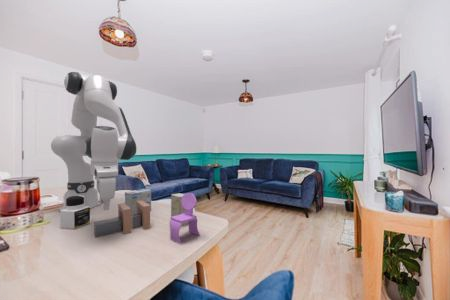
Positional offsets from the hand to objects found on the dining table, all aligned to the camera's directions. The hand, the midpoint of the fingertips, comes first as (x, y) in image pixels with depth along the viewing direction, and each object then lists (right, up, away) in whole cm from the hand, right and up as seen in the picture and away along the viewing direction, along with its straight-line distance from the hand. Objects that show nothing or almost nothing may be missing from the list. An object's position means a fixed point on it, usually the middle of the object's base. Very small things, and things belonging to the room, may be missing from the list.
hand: (104, 206), depth 74 cm
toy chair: (+31, -10, -5) cm, 33 cm away
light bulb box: (+2, -10, +25) cm, 27 cm away
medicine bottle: (-17, -10, +8) cm, 21 cm away
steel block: (+5, -10, +3) cm, 11 cm away
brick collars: (+8, -10, +6) cm, 14 cm away
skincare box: (+26, -10, +8) cm, 29 cm away
